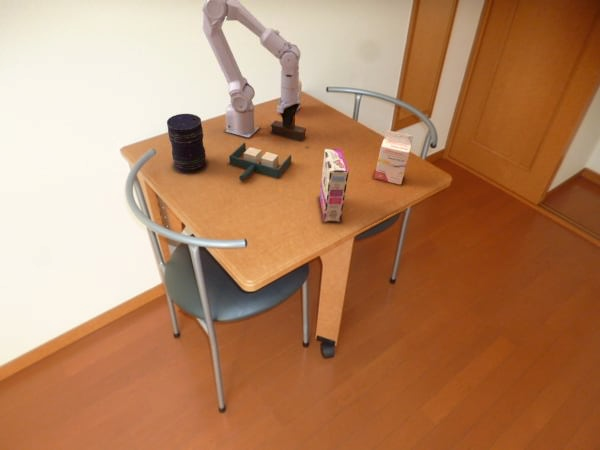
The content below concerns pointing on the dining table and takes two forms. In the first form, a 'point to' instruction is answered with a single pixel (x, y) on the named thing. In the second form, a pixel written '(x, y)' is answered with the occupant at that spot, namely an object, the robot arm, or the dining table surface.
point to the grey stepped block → (288, 129)
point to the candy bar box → (333, 185)
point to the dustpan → (255, 165)
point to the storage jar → (187, 143)
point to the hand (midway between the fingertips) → (288, 123)
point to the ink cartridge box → (393, 157)
